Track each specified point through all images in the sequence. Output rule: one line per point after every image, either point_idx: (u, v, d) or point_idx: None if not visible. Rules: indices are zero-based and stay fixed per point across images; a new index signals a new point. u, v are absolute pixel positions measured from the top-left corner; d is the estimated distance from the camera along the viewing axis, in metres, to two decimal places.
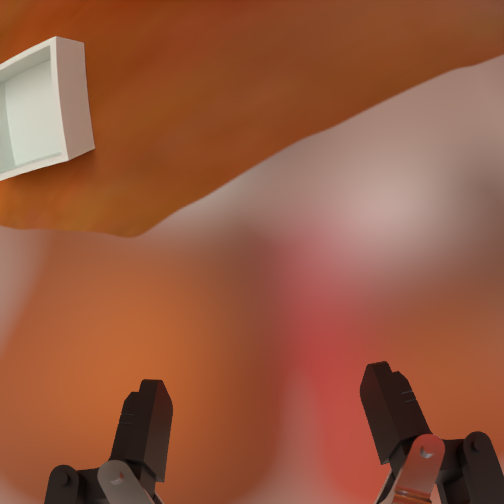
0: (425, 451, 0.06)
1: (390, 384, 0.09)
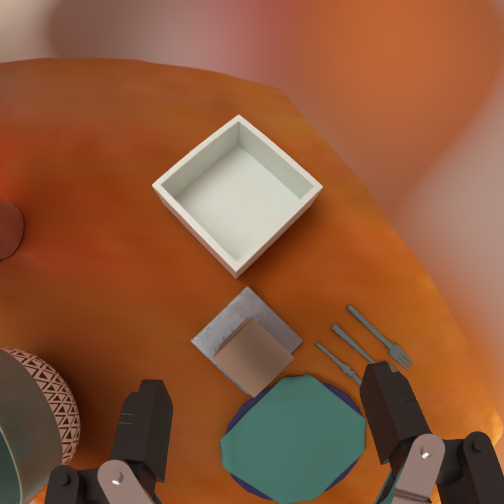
0: (425, 451, 0.06)
1: (390, 384, 0.09)
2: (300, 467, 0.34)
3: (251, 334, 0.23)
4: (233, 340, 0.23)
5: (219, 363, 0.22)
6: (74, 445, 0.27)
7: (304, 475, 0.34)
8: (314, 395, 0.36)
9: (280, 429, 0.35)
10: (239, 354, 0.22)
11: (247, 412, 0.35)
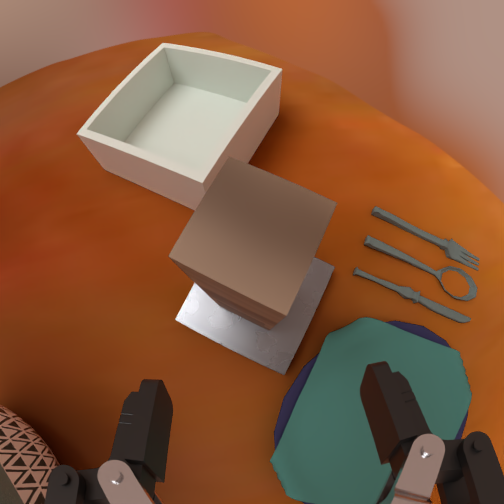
0: (425, 451, 0.06)
1: (390, 384, 0.09)
2: None
3: (234, 182, 0.11)
4: (201, 205, 0.11)
5: (185, 261, 0.10)
6: None
7: None
8: (381, 344, 0.24)
9: (352, 412, 0.23)
10: (222, 228, 0.11)
11: (295, 405, 0.23)
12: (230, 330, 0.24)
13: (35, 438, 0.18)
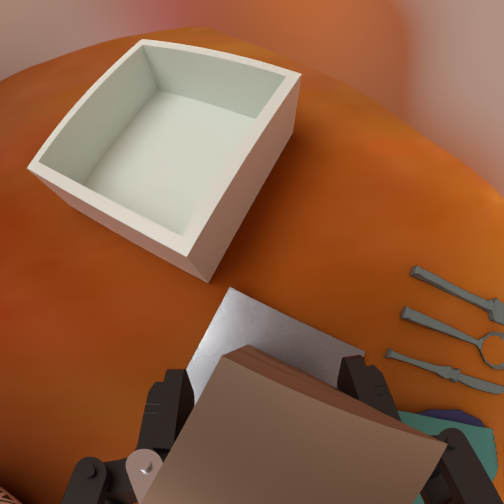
0: None
1: (363, 377, 0.10)
2: None
3: (236, 430, 0.04)
4: (166, 472, 0.04)
5: None
6: None
7: None
8: None
9: None
10: None
11: None
12: None
13: None
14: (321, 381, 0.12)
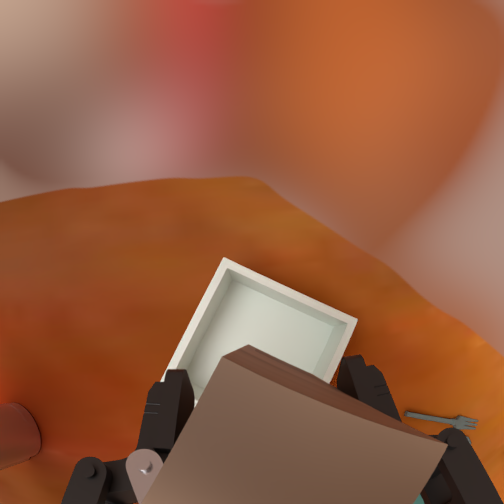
0: None
1: (363, 377, 0.10)
2: None
3: (237, 431, 0.04)
4: (166, 473, 0.04)
5: None
6: None
7: None
8: None
9: None
10: None
11: None
12: None
13: None
14: (321, 381, 0.12)
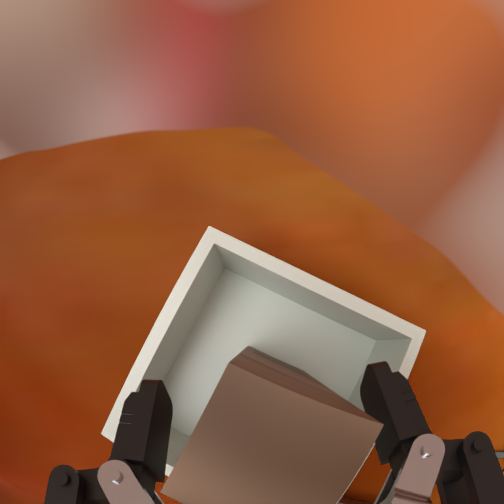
0: (425, 451, 0.06)
1: (390, 384, 0.09)
2: None
3: (238, 408, 0.07)
4: (194, 439, 0.07)
5: (182, 500, 0.06)
6: None
7: None
8: None
9: None
10: (226, 470, 0.06)
11: None
12: None
13: None
14: (308, 377, 0.15)
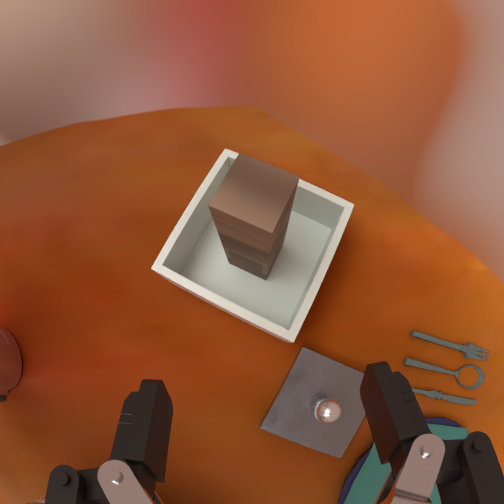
0: (425, 451, 0.06)
1: (390, 384, 0.09)
2: None
3: (242, 167, 0.20)
4: (225, 179, 0.20)
5: (217, 207, 0.19)
6: None
7: None
8: None
9: None
10: (237, 190, 0.20)
11: (352, 483, 0.26)
12: (303, 433, 0.28)
13: None
14: None
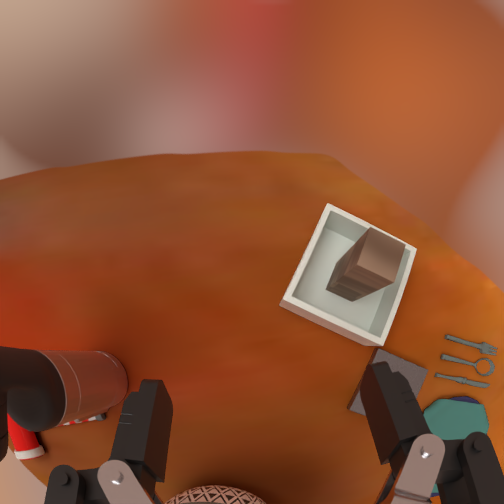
0: (425, 451, 0.06)
1: (390, 384, 0.09)
2: None
3: (373, 237, 0.30)
4: (364, 246, 0.30)
5: (362, 266, 0.29)
6: None
7: None
8: (447, 409, 0.37)
9: None
10: (372, 254, 0.30)
11: None
12: None
13: (259, 498, 0.31)
14: None
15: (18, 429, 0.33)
